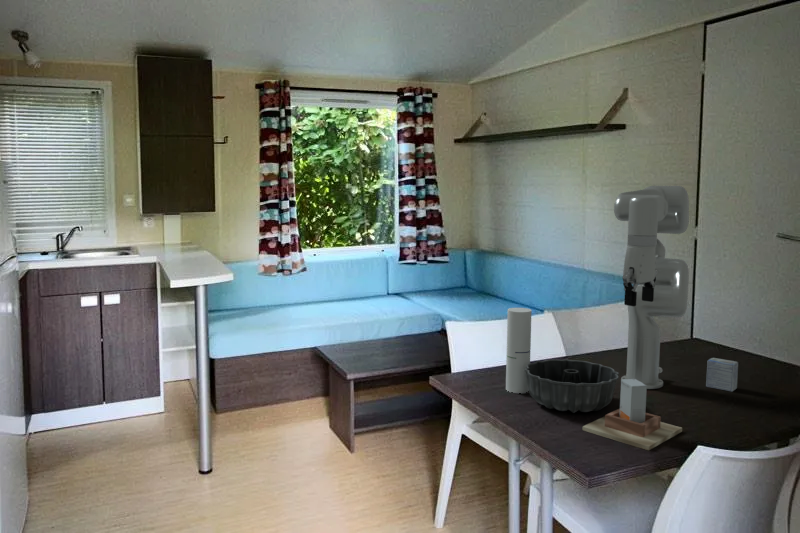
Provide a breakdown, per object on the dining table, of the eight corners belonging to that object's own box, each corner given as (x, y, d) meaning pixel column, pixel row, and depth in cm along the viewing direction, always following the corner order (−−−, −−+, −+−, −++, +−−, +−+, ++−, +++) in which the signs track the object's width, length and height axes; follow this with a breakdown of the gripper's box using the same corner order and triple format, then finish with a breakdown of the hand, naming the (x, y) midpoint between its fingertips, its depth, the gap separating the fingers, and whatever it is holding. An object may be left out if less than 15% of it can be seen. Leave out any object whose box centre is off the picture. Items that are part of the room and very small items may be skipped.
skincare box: (618, 423, 178) (620, 379, 177) (633, 422, 179) (635, 378, 177) (629, 432, 172) (631, 386, 171) (645, 431, 173) (647, 385, 171)
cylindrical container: (529, 394, 205) (531, 312, 202) (505, 392, 207) (507, 311, 203) (529, 387, 212) (531, 308, 209) (506, 385, 214) (508, 307, 210)
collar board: (617, 413, 188) (618, 399, 188) (682, 431, 175) (682, 416, 175) (582, 430, 176) (583, 415, 176) (648, 450, 163) (649, 434, 163)
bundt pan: (541, 384, 215) (542, 353, 214) (627, 398, 202) (628, 365, 200) (510, 408, 193) (510, 374, 191) (604, 426, 179) (605, 389, 178)
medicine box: (737, 389, 211) (738, 361, 210) (732, 392, 208) (734, 364, 206) (710, 383, 216) (712, 357, 215) (705, 386, 213) (707, 359, 212)
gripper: (644, 238, 195) (641, 297, 197) (613, 242, 183) (610, 305, 185) (669, 240, 189) (666, 301, 192) (639, 244, 178) (636, 309, 180)
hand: (638, 303), depth 189 cm, fingers open, 9 cm apart
